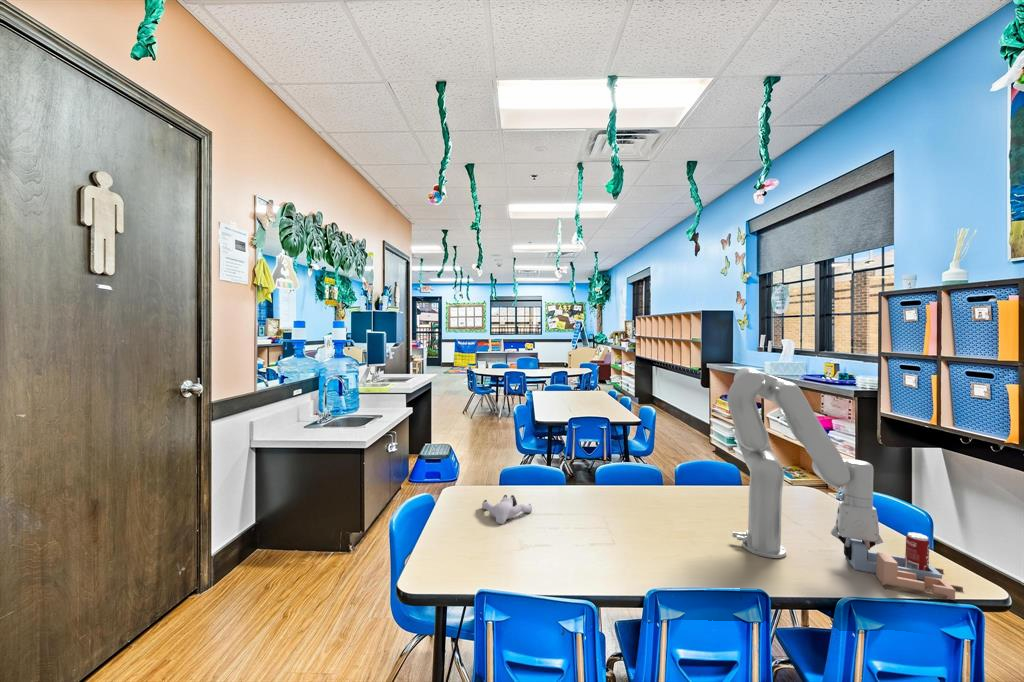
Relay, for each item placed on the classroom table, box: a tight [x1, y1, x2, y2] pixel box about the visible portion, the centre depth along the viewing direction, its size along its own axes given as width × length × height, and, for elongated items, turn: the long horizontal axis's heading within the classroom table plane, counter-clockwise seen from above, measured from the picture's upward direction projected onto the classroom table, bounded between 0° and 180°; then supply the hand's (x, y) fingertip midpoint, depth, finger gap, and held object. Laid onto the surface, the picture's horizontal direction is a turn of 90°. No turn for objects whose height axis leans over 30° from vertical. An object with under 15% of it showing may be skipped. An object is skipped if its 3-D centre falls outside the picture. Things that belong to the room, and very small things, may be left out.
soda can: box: [904, 531, 931, 571], centre depth 134 cm, size 5×5×12 cm
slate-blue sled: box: [845, 539, 943, 580], centre depth 136 cm, size 20×9×7 cm, turn 68°
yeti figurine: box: [481, 494, 533, 525], centre depth 173 cm, size 20×7×20 cm
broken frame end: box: [924, 576, 956, 601], centre depth 125 cm, size 4×6×3 cm
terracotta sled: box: [875, 552, 926, 591], centre depth 128 cm, size 9×6×7 cm, turn 68°
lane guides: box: [883, 567, 964, 601], centre depth 131 cm, size 20×19×1 cm
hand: (855, 558), depth 140 cm, fingers closed on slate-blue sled, 3 cm apart
